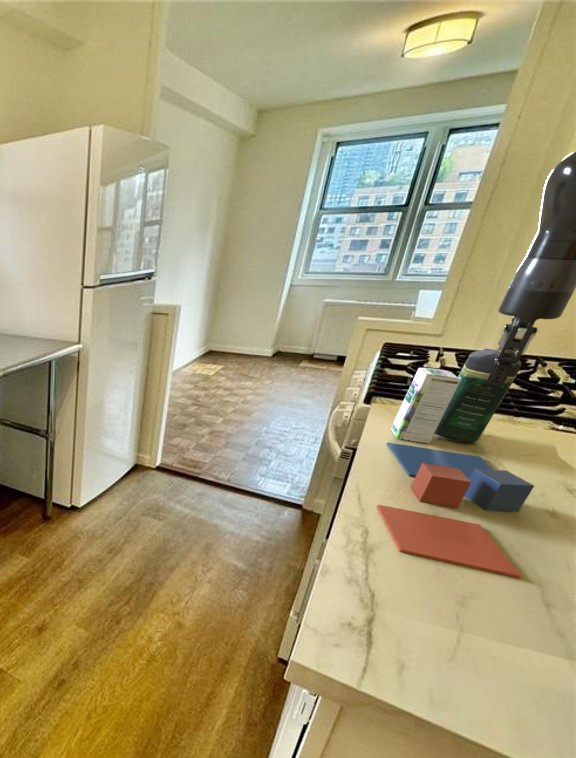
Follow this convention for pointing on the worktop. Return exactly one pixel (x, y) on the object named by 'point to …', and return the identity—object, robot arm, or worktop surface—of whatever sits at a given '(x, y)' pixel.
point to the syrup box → (424, 404)
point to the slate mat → (435, 459)
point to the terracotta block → (440, 485)
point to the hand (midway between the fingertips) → (495, 379)
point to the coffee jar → (474, 399)
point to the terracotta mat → (445, 540)
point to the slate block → (498, 490)
